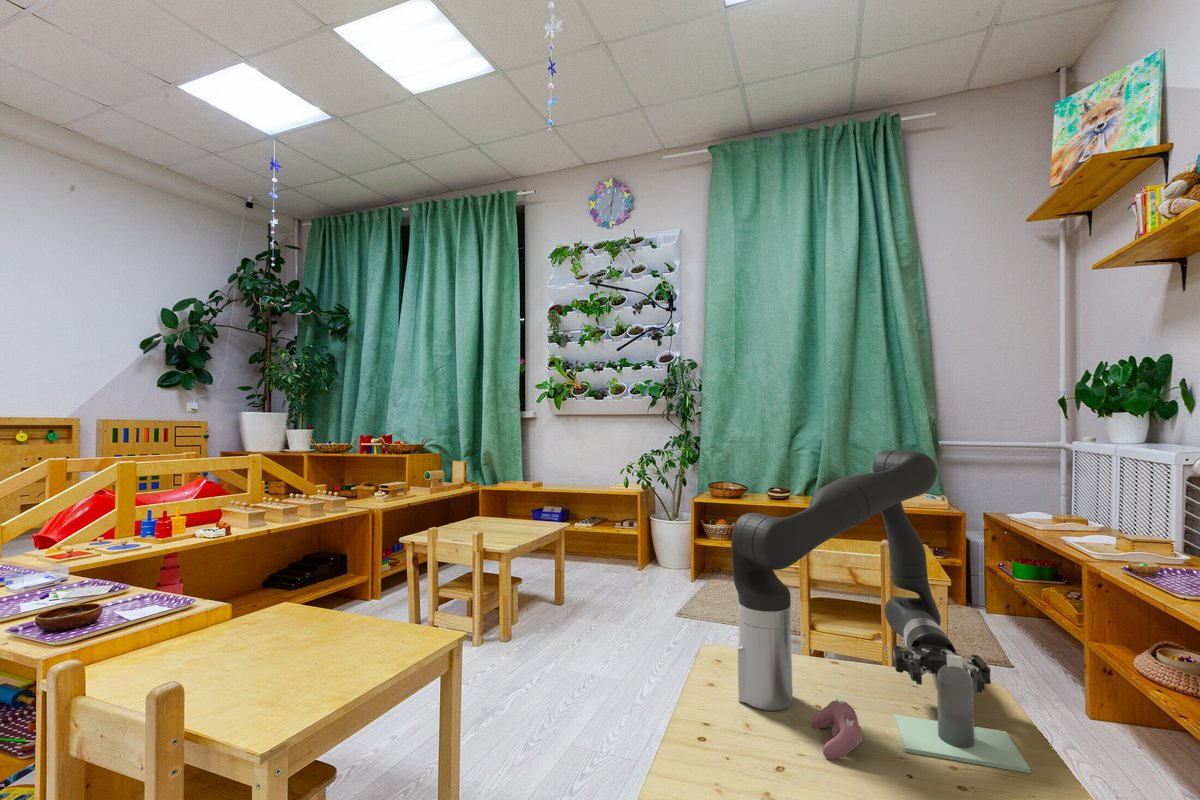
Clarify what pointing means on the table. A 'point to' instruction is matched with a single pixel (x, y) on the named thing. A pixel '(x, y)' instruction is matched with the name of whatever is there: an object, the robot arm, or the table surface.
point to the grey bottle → (955, 704)
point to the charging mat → (986, 750)
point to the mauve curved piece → (839, 728)
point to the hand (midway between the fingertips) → (949, 683)
